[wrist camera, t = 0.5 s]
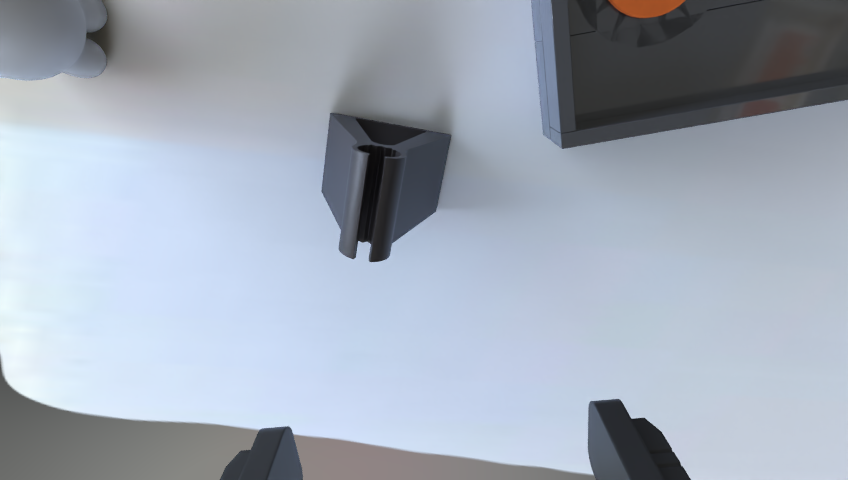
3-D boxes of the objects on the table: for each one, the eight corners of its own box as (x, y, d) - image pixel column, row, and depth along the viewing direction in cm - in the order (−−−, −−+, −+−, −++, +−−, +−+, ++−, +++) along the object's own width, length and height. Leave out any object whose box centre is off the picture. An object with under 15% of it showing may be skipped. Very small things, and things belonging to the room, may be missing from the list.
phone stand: (322, 189, 39) (280, 247, 27) (331, 111, 36) (290, 139, 25) (435, 210, 39) (440, 274, 28) (451, 134, 37) (463, 171, 26)
